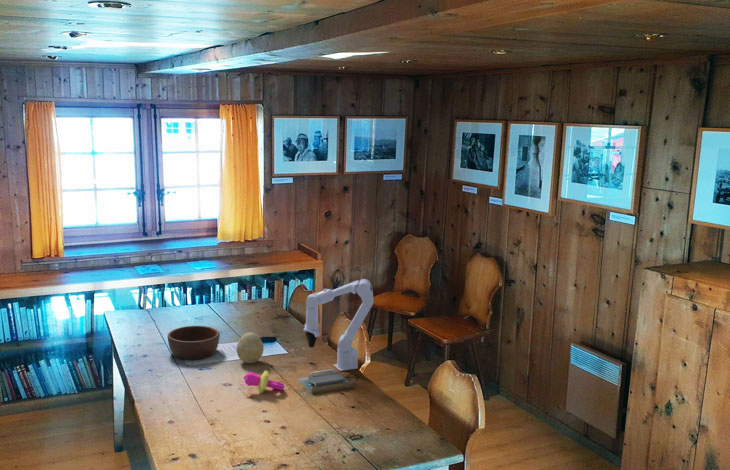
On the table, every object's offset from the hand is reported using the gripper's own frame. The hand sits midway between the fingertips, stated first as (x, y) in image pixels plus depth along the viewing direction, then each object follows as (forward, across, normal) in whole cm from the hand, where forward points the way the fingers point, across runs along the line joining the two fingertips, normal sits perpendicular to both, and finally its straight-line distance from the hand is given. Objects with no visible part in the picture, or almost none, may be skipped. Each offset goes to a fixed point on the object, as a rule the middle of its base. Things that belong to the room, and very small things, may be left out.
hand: (311, 346), depth 324 cm
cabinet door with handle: (+9, +24, -2) cm, 26 cm away
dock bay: (+10, +22, -2) cm, 24 cm away
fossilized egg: (+10, -14, -26) cm, 31 cm away
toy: (+10, +21, -30) cm, 38 cm away
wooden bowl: (+10, -36, -48) cm, 61 cm away
